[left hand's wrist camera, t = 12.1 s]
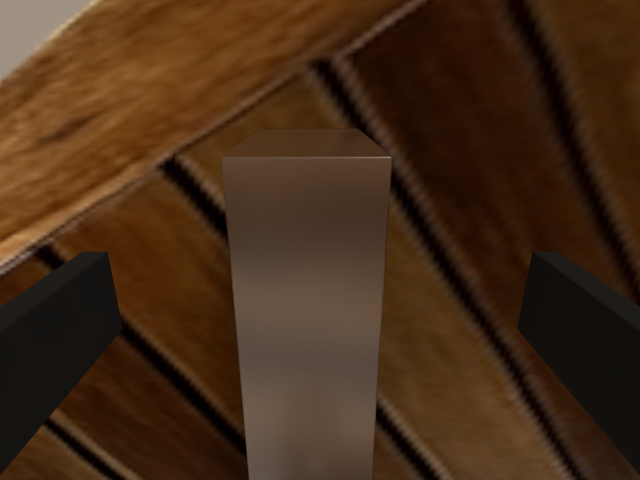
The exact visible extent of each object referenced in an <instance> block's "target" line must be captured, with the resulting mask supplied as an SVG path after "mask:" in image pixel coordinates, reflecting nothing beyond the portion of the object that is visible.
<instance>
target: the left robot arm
mask: <svg viewBox="0 0 640 480" xmlns="http://www.w3.org/2000/svg"><path fill="white" fill-rule="evenodd" d="M122 329H123V328H122V323H121V318H120V313H119V308H118V302H117V297H116V292H115V287H114V282H113V277H112V272H111V267H110V262H109V257H108V252H82V253H80V254H79V255H77V256H76V257H74V258H73V259H71V260H70V261H68V262H67V263H65V264H64V265H62V266H61V267H59V268H58V269H56V270H55V271H53V272H52V273H50V274H49V275H47V276H46V277H44V278H43V279H41V280H40V281H38V282H37V283H35V284H34V285H32V286H31V287H29V288H28V289H26V290H25V291H23V292H22V293H20V294H19V295H17V296H16V297H14V298H13V299H11V300H10V301H8V302H7V303H5V304H4V305H2V306H1V307H0V475H1V474H2V472H3V471H4V470H5V469H6V468H7V466H8V465H9V464H10V463H11V462H12V460H13V459H14V458H15V457H16V456H17V455H18V453H19V452H20V451H21V450H22V449H23V447H24V446H25V445H26V444H27V443H28V441H29V440H30V439H31V438H32V437H33V435H34V434H35V433H36V432H37V431H38V429H39V428H40V427H41V426H42V425H43V423H44V422H45V421H46V420H47V419H48V417H49V416H50V415H51V414H52V413H53V411H54V410H55V409H56V408H57V407H58V405H59V404H60V403H61V402H62V401H63V400H64V398H65V397H66V396H67V395H68V394H69V392H70V391H71V390H72V389H73V388H74V386H75V385H76V384H77V383H78V382H79V380H80V379H81V378H82V377H83V376H84V374H85V373H86V372H87V371H88V370H89V368H90V367H91V366H92V365H93V364H94V362H95V361H96V360H97V359H98V358H99V356H100V355H101V354H102V353H103V352H104V350H105V349H106V348H107V347H108V346H109V345H110V343H111V342H112V341H113V340H114V339H115V337H116V336H117V335H118V334H119V333H120V331H121V330H122ZM517 329H518V330H519V331H520V333H521V334H522V335H523V336H524V337H525V339H526V340H527V341H528V342H529V343H530V345H531V346H532V347H533V348H534V349H535V350H536V352H537V353H538V354H539V355H540V356H541V358H542V359H543V360H544V361H545V362H546V364H547V365H548V366H549V367H550V368H551V370H552V371H553V372H554V373H555V374H556V376H557V377H558V378H559V379H560V380H561V382H562V383H563V384H564V385H565V386H566V388H567V389H568V390H569V391H570V392H571V394H572V395H573V396H574V397H575V398H576V400H577V401H578V402H579V403H580V404H581V405H582V407H583V408H584V409H585V410H586V411H587V413H588V414H589V415H590V416H591V417H592V419H593V420H594V421H595V422H596V423H597V425H598V426H599V427H600V428H601V429H602V431H603V432H604V433H605V434H606V435H607V437H608V438H609V439H610V440H611V441H612V443H613V444H614V445H615V446H616V447H617V449H618V450H619V451H620V452H621V453H622V455H623V456H624V457H625V458H626V459H627V461H628V462H629V463H630V464H631V465H632V466H633V468H634V469H635V470H636V471H637V472H638V474H639V475H640V307H639V306H638V305H636V304H635V303H633V302H632V301H630V300H629V299H627V298H626V297H624V296H623V295H621V294H620V293H618V292H617V291H615V290H614V289H612V288H611V287H609V286H608V285H606V284H605V283H603V282H602V281H600V280H599V279H597V278H596V277H594V276H593V275H591V274H590V273H588V272H587V271H585V270H584V269H582V268H581V267H579V266H578V265H576V264H575V263H573V262H572V261H570V260H569V259H567V258H566V257H564V256H563V255H561V254H560V253H558V252H532V257H531V262H530V267H529V272H528V277H527V282H526V287H525V292H524V297H523V302H522V308H521V313H520V318H519V323H518V328H517Z"/></svg>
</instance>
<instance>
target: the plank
mask: <svg viewBox="0 0 640 480" xmlns="http://www.w3.org/2000/svg"><path fill="white" fill-rule="evenodd" d="M221 163H222V175H223V186H224V198H225V209H226V221H227V232H228V244H229V255H230V267H231V278H232V290H233V302H234V313H235V325H236V336H237V348H238V359H239V371H240V382H241V394H242V406H243V417H244V429H245V440H246V452H247V463H248V475H249V480H372V465H373V449H374V434H375V418H376V402H377V387H378V371H379V355H380V339H381V324H382V308H383V292H384V276H385V261H386V245H387V229H388V214H389V198H390V182H391V166H392V157H391V156H390V155H389V154H388V153H386V152H385V151H384V150H383V149H382V148H380V147H379V146H378V145H377V144H376V143H374V142H373V141H372V140H371V139H370V138H368V137H367V136H366V135H365V134H364V133H362V132H361V131H360V130H359V129H258V130H256V131H255V132H254V133H253V134H251V135H250V136H249V137H247V138H246V139H245V140H243V141H242V142H241V143H240V144H238V145H237V146H236V147H234V148H233V149H232V150H230V151H229V152H228V153H227V154H225V155H224V156H223V157H222V158H221Z"/></svg>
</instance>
